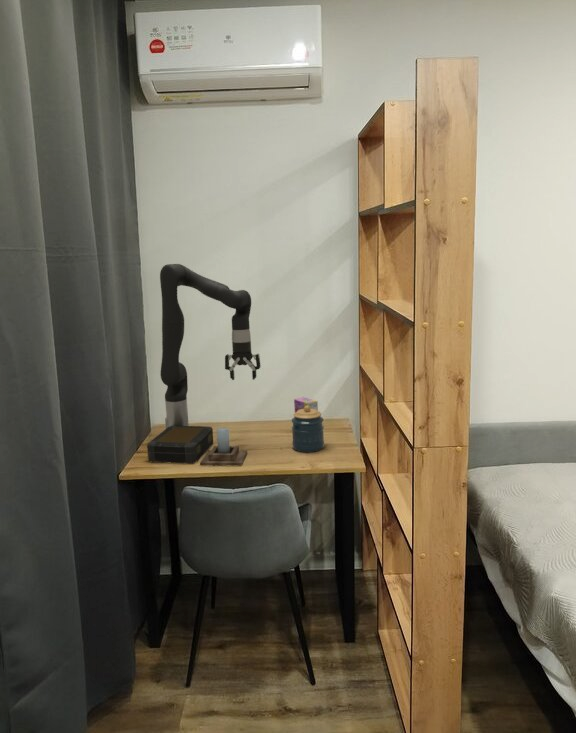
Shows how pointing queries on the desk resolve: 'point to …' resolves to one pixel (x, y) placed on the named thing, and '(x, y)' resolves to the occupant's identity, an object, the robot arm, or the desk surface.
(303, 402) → the box
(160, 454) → the cash box
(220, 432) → the cylinder
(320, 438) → the canister
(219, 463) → the holder
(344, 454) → the desk surface
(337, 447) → the desk surface
